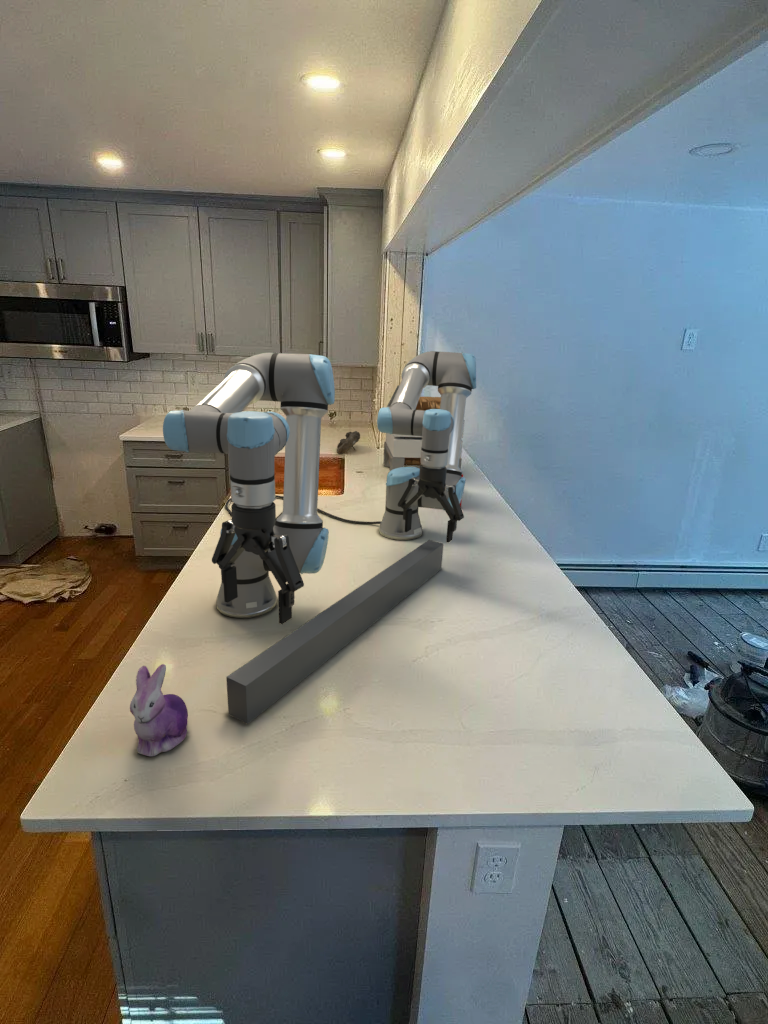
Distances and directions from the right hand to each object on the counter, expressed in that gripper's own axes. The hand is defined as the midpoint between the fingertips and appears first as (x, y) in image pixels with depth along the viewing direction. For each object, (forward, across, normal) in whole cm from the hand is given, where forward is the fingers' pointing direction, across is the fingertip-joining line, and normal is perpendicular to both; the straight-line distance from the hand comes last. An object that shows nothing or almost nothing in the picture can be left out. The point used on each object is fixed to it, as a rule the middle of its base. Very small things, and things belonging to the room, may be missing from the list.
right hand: (428, 535), depth 166 cm
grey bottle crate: (+12, -53, +98) cm, 112 cm away
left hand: (-8, 0, -71) cm, 71 cm away
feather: (+12, -67, +12) cm, 69 cm away
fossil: (+12, -106, +114) cm, 156 cm away
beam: (+13, 0, -35) cm, 38 cm away
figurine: (+13, -8, -88) cm, 90 cm away
